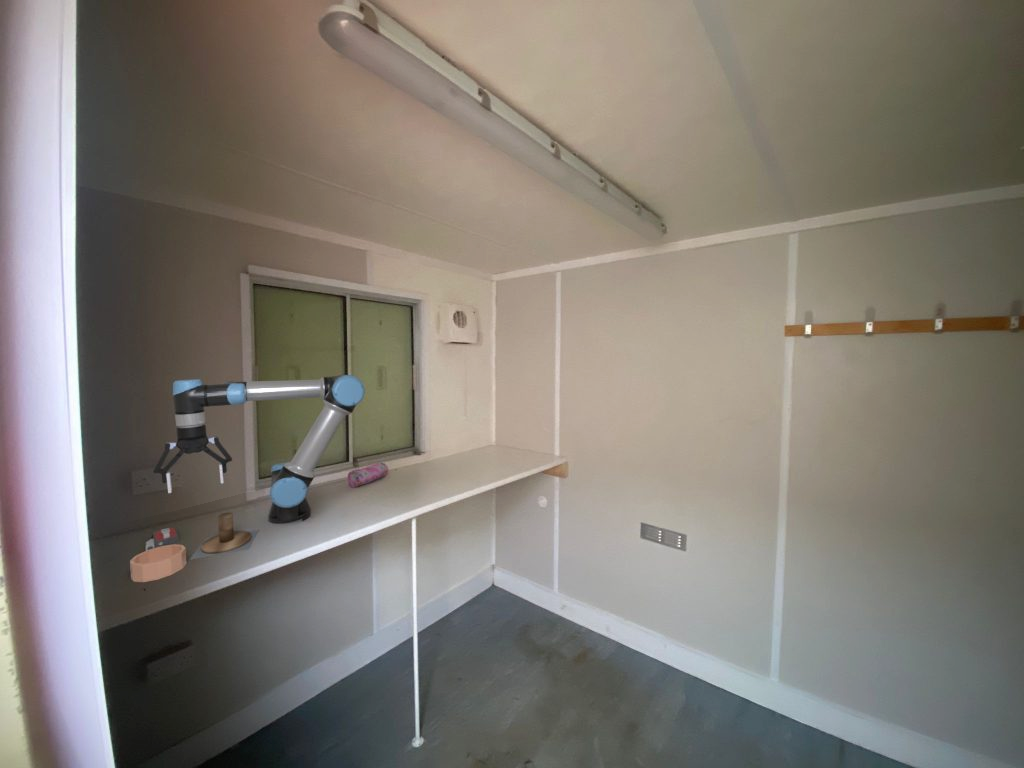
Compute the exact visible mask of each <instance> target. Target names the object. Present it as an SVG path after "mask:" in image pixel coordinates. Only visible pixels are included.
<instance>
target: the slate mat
mask: <svg viewBox="0 0 1024 768" xmlns="http://www.w3.org/2000/svg"><path fill="white" fill-rule="evenodd" d="M247 532H250V533H251V540H250V541H249V542H248V543H247V544H245V545H243V546H241V547H239V548H237V549H234V550H231V551H227V552H222V553H216V554H207V553H203V552H202V551H201V545H202V543H203V542H205V541H206V540H208V539H210V538H212V537H213V536H210V537H206V538H205V539H204V540H203V541H202V543H201V544H200V545H199V547H198V548H197V549H196V550H195V552H194V553H193V554H192V555H191V557H190V558H189V559H188V560H189V561H191V560H194V559H201V558H208V557H212V556H219V555H224V554H231V553H236V552H242V551H248V550H250V548H251V547H252V544H253V542H254V540H255V538H256V537H257V534H258V533H259V529H256V530H247Z"/></svg>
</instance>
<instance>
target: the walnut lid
mask: <svg viewBox="0 0 1024 768" xmlns="http://www.w3.org/2000/svg"><path fill="white" fill-rule="evenodd" d="M233 514H234V513H233V512H224V513H221V514H219V515H218V517H217V521H218V535H213V536H211V537H212V538H210V539H208V540H206V541H205V542H203V541H202V543H201V544H202V545H201V544H200V545H201V551H202V552H203V553H207V554H216V553H222V552H227V551H231V550H234V549H237V548H239V547H241V546H243V545H245V544H247V543H248V542H249V541H250V540H251V533H250V532H247V531H248V530H247V531H246V530H237V531H236V530H235V531H234V517H233Z"/></svg>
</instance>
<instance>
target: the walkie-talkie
mask: <svg viewBox="0 0 1024 768" xmlns="http://www.w3.org/2000/svg"><path fill="white" fill-rule="evenodd" d="M178 532H179V531H178V529H177V527H174V526H173V527H172V526H171V527H168V528H163V529H162V528H161V529H158V530H155V531H154V532H153V533H152V534H151V539H149V540H148V541H146V542H145V551H147V550H150V549H153V548H157V547H160V546H165V545H172V544H175V543H177V542H179V541H180V540H181V537H180V534H179V533H178Z"/></svg>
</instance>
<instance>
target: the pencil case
mask: <svg viewBox="0 0 1024 768" xmlns="http://www.w3.org/2000/svg"><path fill="white" fill-rule="evenodd" d="M388 470H389V469H388V466H387V464H386V463H384V462H382V461H378V462H376V463H375V464H372V465H369V466H366V467H362V468H357V469H354V470H350V471H349V472H348V474H347V483H348V486H349V488H350V489H351V488H357V487H360V486H364V485H367V484H370V483H372V482H374V481H375V480H379V479H382V478H385V477H386V476H387V475H388V473H389V471H388Z"/></svg>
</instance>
